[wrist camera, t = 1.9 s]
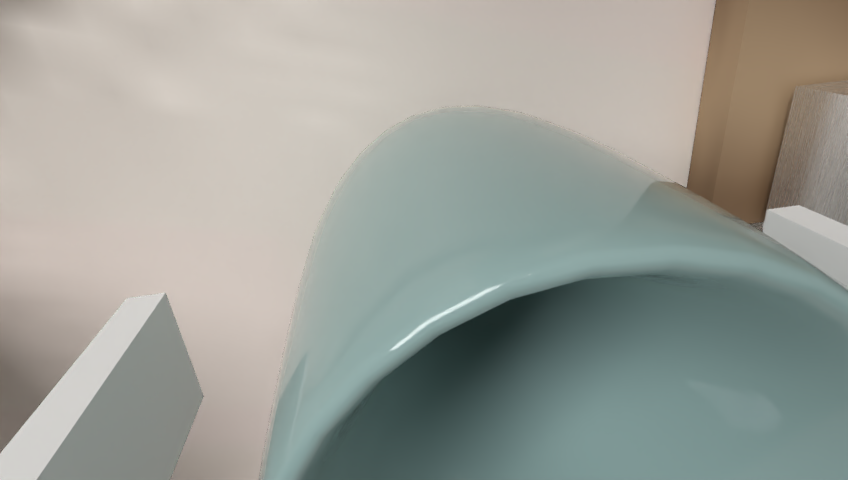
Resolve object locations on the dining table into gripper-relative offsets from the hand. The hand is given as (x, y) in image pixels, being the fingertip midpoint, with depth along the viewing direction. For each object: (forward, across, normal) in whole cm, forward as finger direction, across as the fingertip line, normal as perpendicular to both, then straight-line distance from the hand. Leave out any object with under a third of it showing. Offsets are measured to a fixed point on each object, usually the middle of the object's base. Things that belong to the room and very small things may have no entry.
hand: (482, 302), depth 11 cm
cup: (+4, 0, 0) cm, 5 cm away
